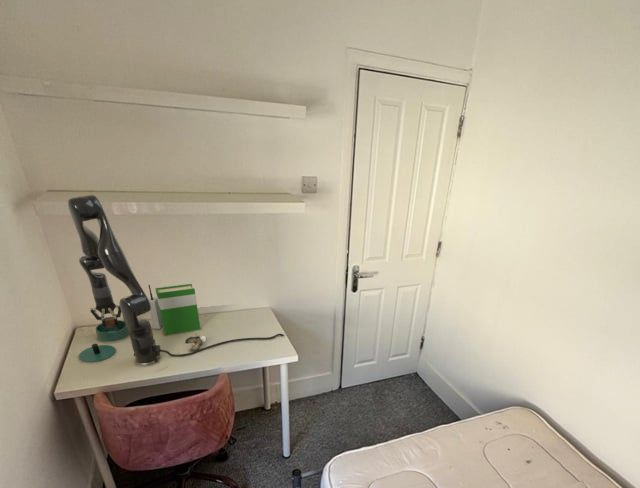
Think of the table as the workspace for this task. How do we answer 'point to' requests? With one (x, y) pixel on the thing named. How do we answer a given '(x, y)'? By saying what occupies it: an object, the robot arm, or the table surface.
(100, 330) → the tin
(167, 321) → the hardback book
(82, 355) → the lid
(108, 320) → the block
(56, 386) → the table surface
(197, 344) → the eagle figurine
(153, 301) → the vintage mobile phone
